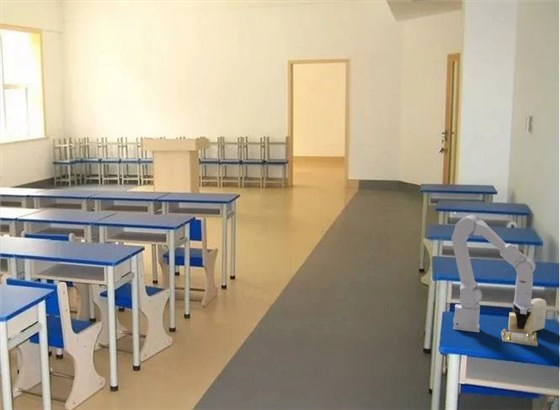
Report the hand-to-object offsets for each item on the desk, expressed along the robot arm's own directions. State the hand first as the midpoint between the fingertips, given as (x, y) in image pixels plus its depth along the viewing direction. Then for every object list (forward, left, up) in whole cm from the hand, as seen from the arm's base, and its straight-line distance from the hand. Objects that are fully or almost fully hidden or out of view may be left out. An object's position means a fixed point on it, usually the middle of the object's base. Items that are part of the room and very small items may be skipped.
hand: (520, 326), depth 218 cm
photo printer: (+6, +13, -5) cm, 15 cm away
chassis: (0, 0, -5) cm, 5 cm away
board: (0, 0, -2) cm, 2 cm away
